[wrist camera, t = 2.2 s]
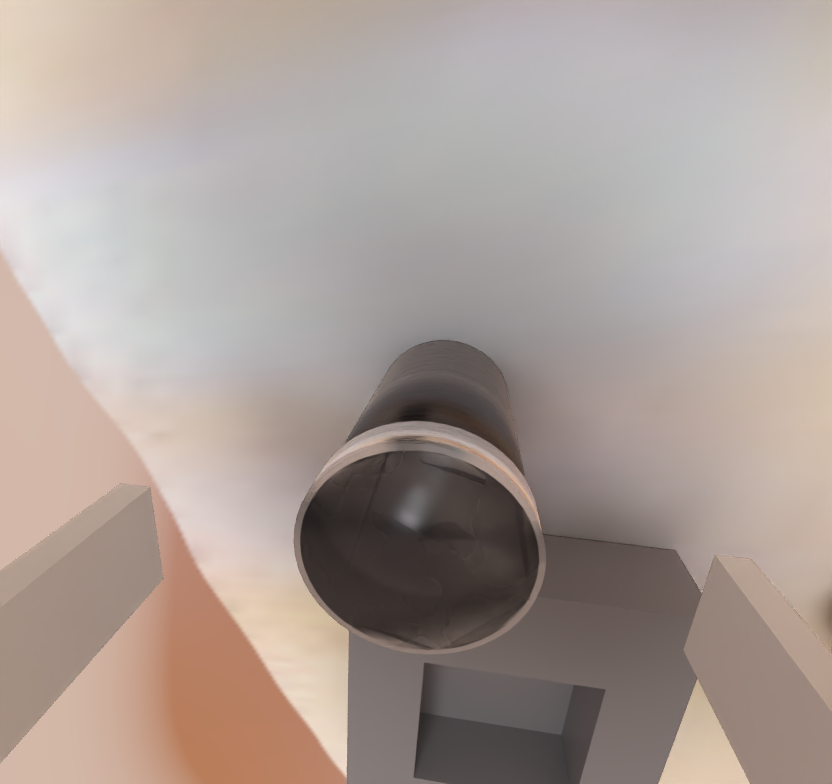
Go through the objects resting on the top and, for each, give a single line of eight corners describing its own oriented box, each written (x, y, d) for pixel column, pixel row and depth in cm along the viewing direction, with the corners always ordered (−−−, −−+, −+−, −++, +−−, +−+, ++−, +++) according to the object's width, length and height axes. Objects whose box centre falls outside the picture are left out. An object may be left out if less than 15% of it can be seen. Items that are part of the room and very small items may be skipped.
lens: (378, 330, 19) (290, 429, 10) (521, 343, 19) (566, 459, 10) (374, 456, 21) (297, 636, 12) (503, 470, 21) (526, 670, 12)
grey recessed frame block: (370, 513, 23) (350, 571, 19) (675, 550, 21) (718, 620, 18) (363, 740, 28) (346, 820, 24) (604, 780, 27) (625, 871, 23)
